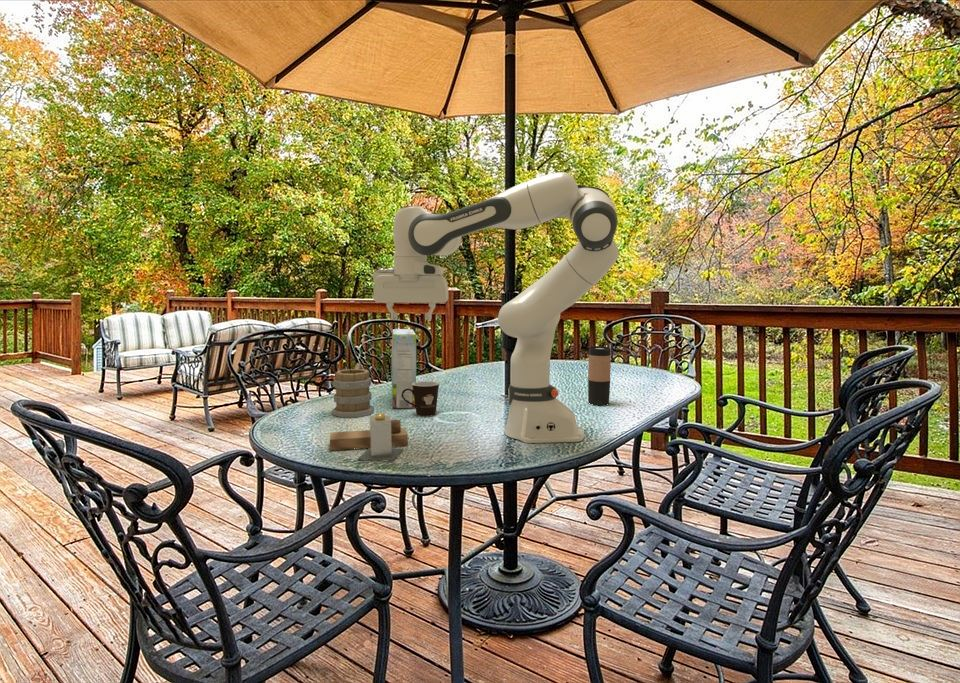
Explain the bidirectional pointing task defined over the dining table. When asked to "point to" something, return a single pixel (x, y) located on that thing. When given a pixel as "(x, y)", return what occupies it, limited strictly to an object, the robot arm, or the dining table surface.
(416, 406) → the coffee mug
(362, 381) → the tankard
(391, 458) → the mat
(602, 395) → the travel mug
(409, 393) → the snack box
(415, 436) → the dining table surface
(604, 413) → the dining table surface
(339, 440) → the body
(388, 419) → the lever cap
